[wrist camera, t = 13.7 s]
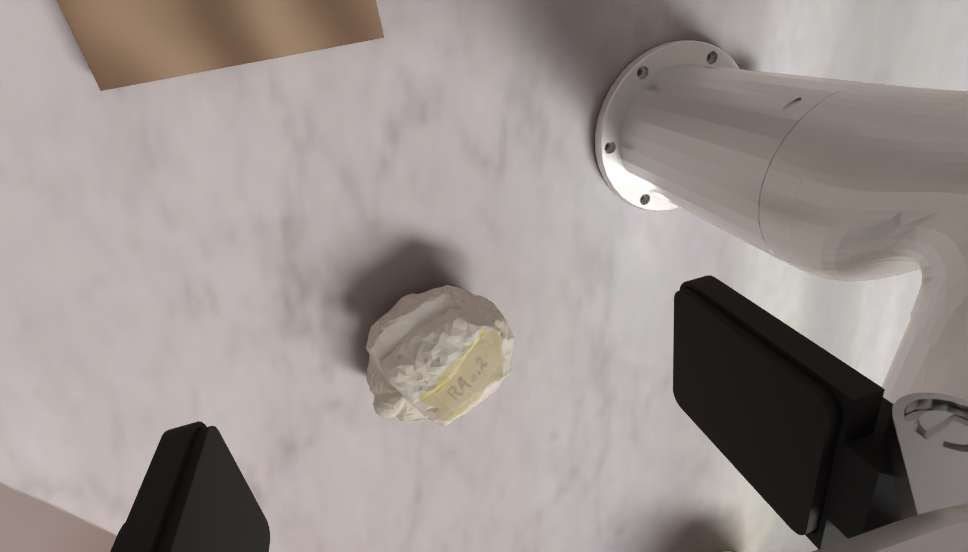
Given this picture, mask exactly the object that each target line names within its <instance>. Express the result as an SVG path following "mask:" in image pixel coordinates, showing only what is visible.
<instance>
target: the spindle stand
mask: <svg viewBox="0 0 968 552" xmlns="http://www.w3.org/2000/svg"><path fill="white" fill-rule="evenodd" d="M57 1H58V3H59V5H60V7H61V9H62V11H63V13H64V15H65V18H66V20H67V22H68V24H69V26H70V28H71V30H72V32H73V34H74V36H75V38H76V40H77V42H78V45H79V47H80V49H81V51H82V53H83V55H84V57H85V59H86V61H87V63H88V65H89V67H90V69H91V71H92V74H93V76H94V78H95V80H96V82H97V84H98V86H99V88H100V90H101V91H103V90H108V89H113V88H119V87H124V86H129V85H135V84H140V83H145V82H150V81H156V80H161V79H166V78H172V77H177V76H182V75H188V74H193V73H198V72H204V71H209V70H214V69H220V68H225V67H230V66H235V65H241V64H246V63H251V62H257V61H262V60H267V59H273V58H278V57H283V56H289V55H294V54H299V53H305V52H310V51H315V50H320V49H326V48H331V47H336V46H342V45H347V44H352V43H358V42H363V41H368V40H374V39H379V38H384V35H383V31H382V26H381V22H380V18H379V13H378V9H377V4H376V0H57Z"/></svg>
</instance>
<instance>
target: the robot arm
mask: <svg viewBox="0 0 968 552" xmlns="http://www.w3.org/2000/svg"><path fill="white" fill-rule="evenodd" d="M638 69H639V73H638V75H637V72H638ZM606 144H607V147H606V148H605V146H606ZM595 153H596V158H597V163H598V167H599V169H600V172H601V174H602V176H603V179H604V180H605V182H606V183H607V185H608V186H609V187H610V189H611V190H612V191H613V192H614V193H615V194H616V195H617V196H619V197H620V198H621V199H622V200H624V201H626V202H627V203H629V204H631V205H633V206H635V207H637V208H640V209H643V210H650V211H669V210H673V209H677V208H682V209H684V210H686V211H688V212H690V213H692V214H694V215H696V216H698V217H699V218H701V219H703V220H705V221H707V222H709V223H711V224H713V225H715V226H717V227H719V228H720V229H722V230H724V231H726V232H728V233H730V234H732V235H734V236H736V237H738V238H740V239H742V240H743V241H745V242H747V243H749V244H751V245H753V246H755V247H757V248H759V249H761V250H763V251H764V252H766V253H768V254H770V255H772V256H774V257H776V258H778V259H780V260H782V261H784V262H786V263H788V264H790V265H792V266H794V267H796V268H798V269H800V270H802V271H804V272H807V273H809V274H811V275H814V276H818V277H821V278H825V279H829V280H837V281H847V282H854V281H867V280H876V279H881V278H887V277H891V276H896V275H900V274H904V273H908V272H912V271H915V270H919V269H921V271H922V282H921V287H920V290H919V293H918V296H917V299H916V302H915V305H914V307H913V310H912V312H911V319H910V321H909V324H908V326H907V329H906V331H905V333H904V336H903V338H902V340H901V343H900V345H899V348H898V350H897V352H896V355H895V357H894V359H893V362H892V364H891V367H890V369H889V371H888V374H887V376H886V378H885V381H884V383H883V386H882V387H880V386H879V385H877V384H876V383H874V382H873V381H871V380H870V379H868V378H867V377H865V376H864V375H862V374H861V373H859V372H858V371H856V370H855V369H853V368H852V367H850V366H849V365H847V364H845V363H844V362H842V361H841V360H839V359H838V358H836V357H835V356H833V355H832V354H830V353H829V352H827V351H826V350H824V349H823V348H821V347H820V346H818V345H817V344H815V343H814V342H812V341H811V340H809V339H808V338H806V337H805V336H803V335H801V334H800V333H798V332H797V331H795V330H794V329H792V328H791V327H789V326H788V325H786V324H785V323H783V322H782V321H780V320H779V319H777V318H776V317H774V316H773V315H771V314H770V313H768V312H767V311H765V310H764V309H762V308H761V307H759V306H757V305H756V304H754V303H753V302H751V301H750V300H748V299H747V298H745V297H744V296H742V295H741V294H739V293H738V292H736V291H735V290H733V289H732V288H730V287H729V286H727V285H726V284H724V283H723V282H721V281H720V280H718V279H717V278H715V277H713V276H704V277H701V278H697V279H694V280H690V281H687V282H684V283H683V284H682V285H681V287H680V291H677V292H676V293H675V296H674V355H673V393H674V396H675V399H676V401H677V403H678V405H679V406H680V407H681V408H682V409H683V411H684V412H685V413H686V414H687V415H688V416H689V417H690V418H691V419H692V420H693V422H694V423H695V424H696V425H697V426H698V427H699V428H700V429H701V430H702V431H703V433H704V434H705V435H706V436H707V437H708V438H709V439H710V440H711V441H712V442H713V443H714V445H715V446H716V447H717V448H718V449H719V450H720V451H721V452H722V453H723V454H724V456H725V457H726V458H727V459H728V460H729V461H730V462H731V463H732V464H733V465H734V467H735V468H736V469H737V470H738V471H739V472H740V473H741V474H742V475H743V476H744V478H745V479H746V480H747V481H748V482H749V483H750V484H751V485H752V486H753V487H754V489H755V490H756V491H757V492H758V493H759V494H760V495H761V496H762V497H763V498H764V500H765V501H766V502H767V503H768V504H769V505H770V506H771V507H772V508H773V509H774V511H775V512H776V513H777V514H778V515H779V516H780V517H781V518H782V519H783V520H784V522H785V523H786V524H787V525H788V526H789V527H790V528H791V529H792V530H793V531H794V532H796V533H797V534H799V535H804V534H805V535H806V536H807V537H808V538H809V539H810V540H811V542H812V543H813V544H814V545H815V546H816V547H817V548H818V549H819V550H816V551H813V552H968V91H953V90H940V89H926V88H915V87H905V86H895V85H885V84H874V83H864V82H855V81H845V80H836V79H826V78H817V77H807V76H798V75H789V74H779V73H770V72H760V71H751V70H741V69H740V68H739V67H738V65H737V64H736V63H735V61H734V60H733V59H732V58H731V56H729V55H728V54H727V53H726V52H724V51H723V50H722V49H720V48H719V47H716V46H714V45H712V44H709V43H707V42H700V41H693V40H678V41H673V42H668V43H663V44H661V45H659V46H657V47H654V48H652V49H650V50H648V51H646V52H645V53H643V54H642V55H641V56H639V57H638V58H636V59H635V60H634V61H633V62H632V63H631V64H629V65H628V66H627V67H626V68H625V69H624V70H623V71H622V72H621V74H620V75H619V77H618V78H617V79H616V81H615V82H614V83H613V85H612V86H611V88H610V90H609V92H608V94H607V96H606V98H605V100H604V101H603V104H602V107H601V110H600V113H599V116H598V120H597V126H596V132H595ZM269 545H270V530H269V526H268V522H267V520H266V518H265V516H264V514H263V512H262V510H261V508H260V507H259V505H258V503H257V501H256V499H255V497H254V495H253V494H252V492H251V490H250V488H249V486H248V484H247V482H246V481H245V479H244V477H243V475H242V473H241V471H240V469H239V468H238V466H237V464H236V462H235V460H234V458H233V456H232V455H231V453H230V451H229V449H228V447H227V445H226V443H225V442H224V440H223V438H222V436H221V434H220V432H219V431H218V429H217V428H216V427H215V426H210V427H206V425H205V424H204V423H202V422H199V421H198V422H195V423H191V424H188V425H184V426H181V427H177V428H174V429H170V430H167V431H166V432H164V434H163V435H162V437H161V440H160V442H159V444H158V447H157V449H156V452H155V454H154V456H153V459H152V461H151V463H150V466H149V468H148V471H147V473H146V475H145V478H144V480H143V482H142V485H141V487H140V490H139V492H138V494H137V497H136V499H135V501H134V504H133V506H132V509H131V511H130V513H129V516H128V518H127V520H126V523H124V524H123V526H122V528H121V529H120V531H119V533H118V535H117V537H116V540H115V542H114V545H113V547H112V549H111V552H269Z"/></svg>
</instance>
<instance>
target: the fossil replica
mask: <svg viewBox="0 0 968 552" xmlns="http://www.w3.org/2000/svg"><path fill="white" fill-rule="evenodd" d="M513 345H514V336H513V334H512V332H511V330H510V328H509V326H508V323H507V321H506V320H505V318H504V317H503V315H502V314H501V312H500V311H499V310H498V308H497V307H496V306H495V304H494V303H492V302H491V301H489V300H488V299H487V298H484V297H482V296H478V295H474V294H471V293H470V292H467V291H465V290H463V289H461V288H458V287H456V286H453V287H452V286H450V285H445V286H443V287H439V288H434V289H431V290H428V291H426V292H423V293H420V294H413V293H412V294H409V295H406V296H403V297H402V298H401V299H400V300H399V301H398V302H397V303H396V305H395V306H394V307H393V308H392V309H391V310H390V311H389V312H388V313H387V314H385V315H383V316H382V317H381V318H380V319H379V320H378V321H377V322H376V323H374V324H373V325H372V326H371V328H370V331H369V334H368V341H367V345H366V350H367V351H368V353H369V354H370V359H369V363H368V364H369V366H368V367H367V382H368V384H369V385H370V391H372V393H373V394H374V395H375V396H374V403H373V405H374V409H375V411H376V413H377V414H378V415H379V416H381V417H382V418H391V417H394V416H397V417H398V418H399V419H400V421H403V422H411V423H419V422H424V421H432V422H434V423H436V424H438V425H440V426H445V425H449V423H450V422H451V421H453V420H454V419H456V418H458V417H461V416H463V415H464V414H465V413H466V412H468V411H469V410H471V409H472V408H474V407H475V406H476V405H478V404H479V403H480V402H482V401H483V400H485V399H486V398H487V397H488V396H489V395H491V394H492V393H493V392H495V391H496V390H497V389H498V387H499V386H500V384H501V381H502V380H503V378H505V377H507V376H508V375H509V374H511V354H512V351H513Z"/></svg>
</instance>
